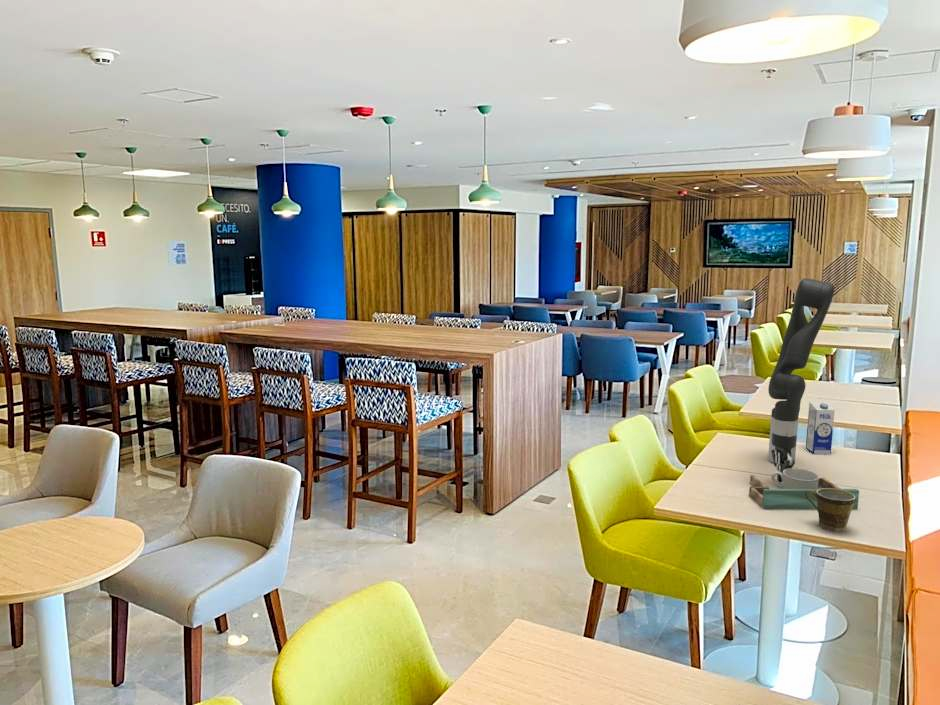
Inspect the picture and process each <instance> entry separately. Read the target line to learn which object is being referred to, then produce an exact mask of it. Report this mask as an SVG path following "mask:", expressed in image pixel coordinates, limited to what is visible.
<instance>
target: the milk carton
mask: <svg viewBox="0 0 940 705" xmlns="http://www.w3.org/2000/svg"><path fill="white" fill-rule="evenodd" d="M807 413H808V414H807V428H806V437H805V438H806V439H805V440H806V441H805V450H806V449H807V450H808V451H809V452H808V451H807V450H806V451H807V452H808V453H810V452H811V453H812V454H811V453H810V454H811V455H813V454H832V444H833V443H832V442H833V432H834V430H833V429H834V420H835V408H834V407H833V406H832V405H831V404H830V403H829V402H828V401H809V402H808V412H807Z"/></svg>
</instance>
